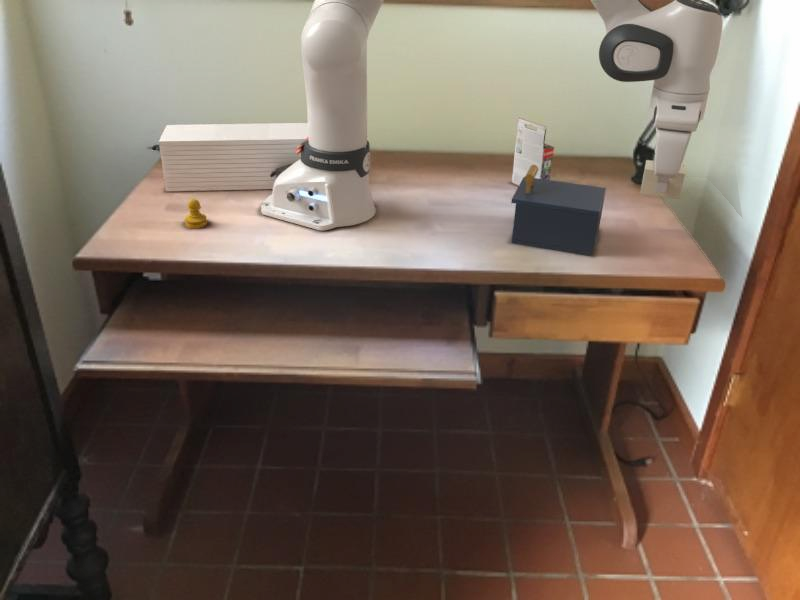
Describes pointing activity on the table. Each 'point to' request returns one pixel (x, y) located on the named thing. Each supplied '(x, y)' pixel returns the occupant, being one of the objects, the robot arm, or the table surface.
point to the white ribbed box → (228, 154)
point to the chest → (556, 229)
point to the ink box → (531, 152)
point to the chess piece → (195, 215)
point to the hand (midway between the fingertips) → (661, 184)
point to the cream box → (651, 181)
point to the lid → (558, 194)
